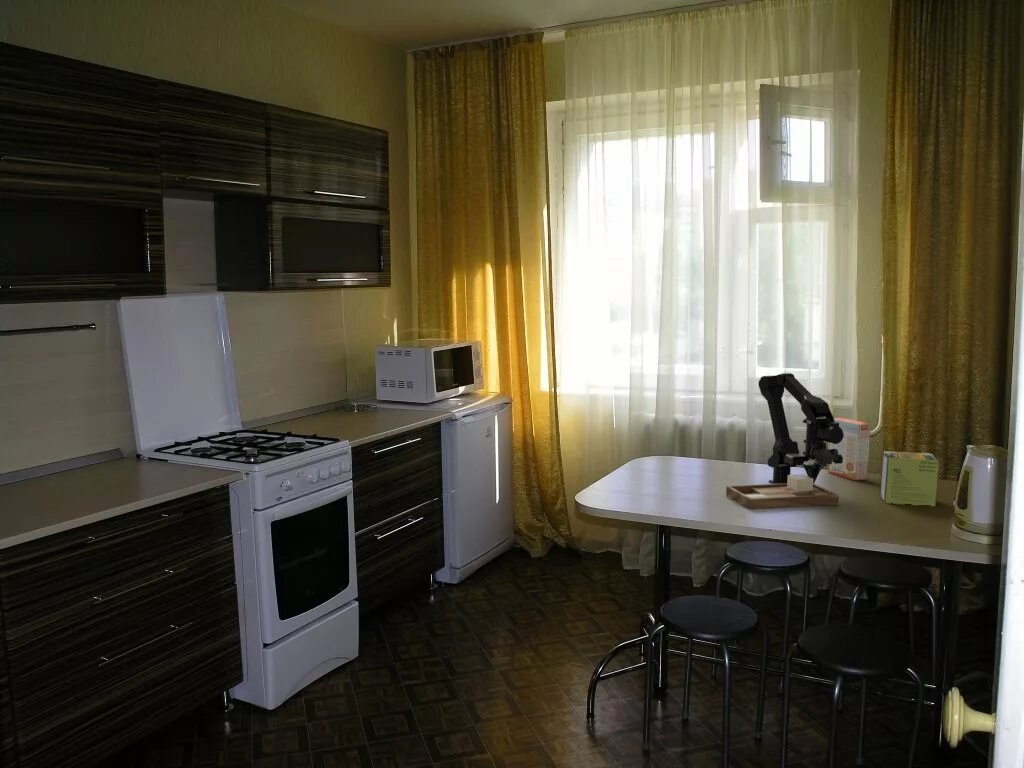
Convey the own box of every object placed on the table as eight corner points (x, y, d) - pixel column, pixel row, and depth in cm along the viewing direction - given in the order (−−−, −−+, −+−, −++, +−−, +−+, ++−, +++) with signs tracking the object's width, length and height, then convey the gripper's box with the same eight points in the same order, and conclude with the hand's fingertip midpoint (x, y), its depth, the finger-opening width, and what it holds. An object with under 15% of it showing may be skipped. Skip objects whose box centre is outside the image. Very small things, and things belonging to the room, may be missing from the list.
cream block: (787, 486, 292) (787, 475, 291) (803, 485, 293) (803, 474, 292) (796, 491, 286) (796, 479, 285) (812, 490, 287) (813, 478, 287)
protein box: (936, 506, 278) (939, 459, 276) (884, 503, 281) (888, 457, 279) (928, 498, 288) (931, 453, 286) (879, 495, 291) (882, 450, 289)
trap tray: (726, 495, 289) (726, 485, 289) (810, 491, 296) (810, 482, 295) (749, 509, 273) (750, 499, 272) (838, 504, 279) (838, 495, 279)
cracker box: (868, 480, 312) (871, 423, 309) (855, 481, 310) (858, 424, 307) (840, 471, 325) (843, 416, 322) (827, 472, 323) (830, 417, 320)
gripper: (802, 444, 278) (800, 491, 280) (854, 442, 282) (851, 488, 284) (784, 437, 289) (782, 482, 291) (834, 435, 293) (831, 480, 295)
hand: (812, 483), depth 290 cm, fingers closed
